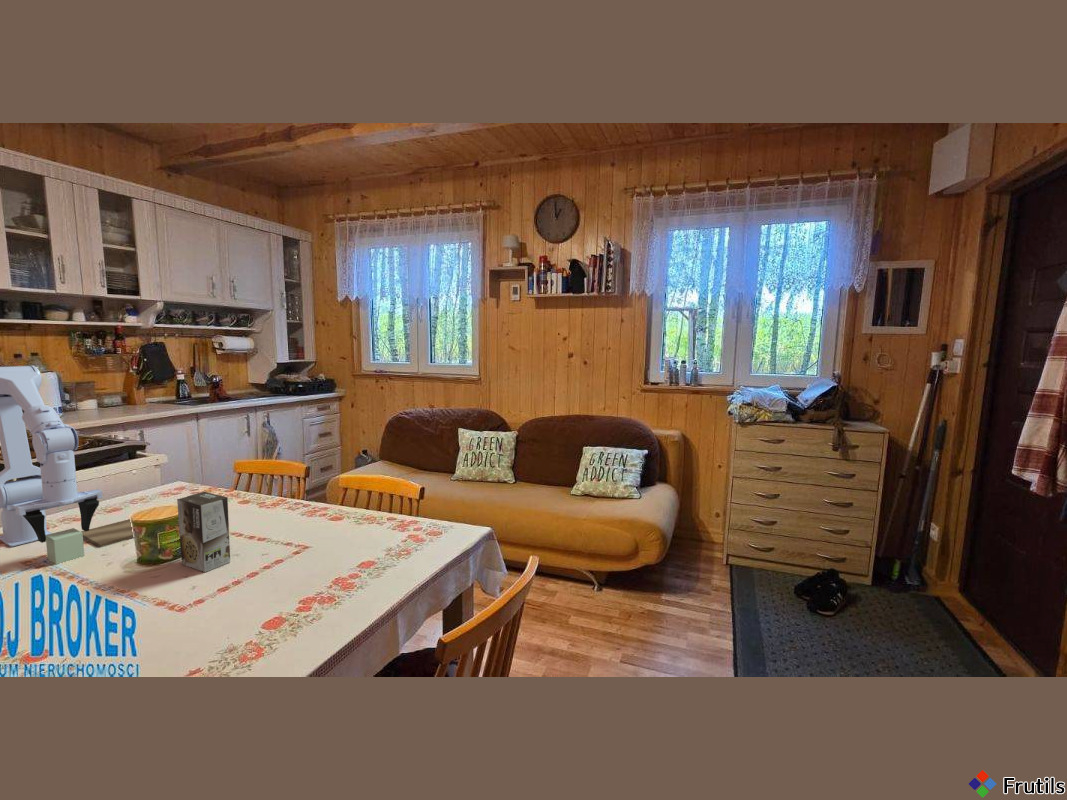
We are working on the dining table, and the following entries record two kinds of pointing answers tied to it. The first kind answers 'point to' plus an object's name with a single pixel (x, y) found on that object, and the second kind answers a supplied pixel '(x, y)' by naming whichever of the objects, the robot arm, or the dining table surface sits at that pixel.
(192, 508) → the coffee box
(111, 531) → the walnut base board
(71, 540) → the sage block
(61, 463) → the robot arm
